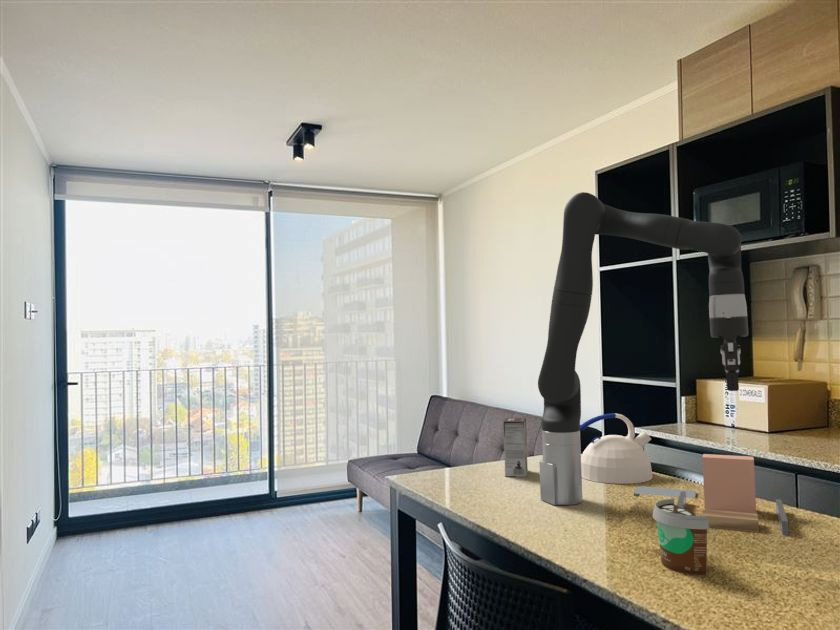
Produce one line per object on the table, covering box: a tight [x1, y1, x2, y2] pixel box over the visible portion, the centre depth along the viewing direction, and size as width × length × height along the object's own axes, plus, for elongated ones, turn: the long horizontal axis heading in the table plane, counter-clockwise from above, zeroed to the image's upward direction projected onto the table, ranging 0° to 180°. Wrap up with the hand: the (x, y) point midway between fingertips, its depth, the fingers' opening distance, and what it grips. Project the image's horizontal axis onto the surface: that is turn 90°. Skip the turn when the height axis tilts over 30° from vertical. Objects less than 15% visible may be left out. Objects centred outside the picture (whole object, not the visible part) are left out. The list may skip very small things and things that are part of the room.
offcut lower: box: [709, 526, 760, 533], centre depth 125 cm, size 5×10×2 cm, turn 63°
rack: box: [676, 491, 790, 537], centre depth 131 cm, size 18×20×4 cm
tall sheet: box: [702, 453, 757, 514], centre depth 136 cm, size 4×10×13 cm, turn 63°
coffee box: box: [502, 417, 528, 478], centre depth 185 cm, size 9×6×16 cm
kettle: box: [580, 412, 653, 485], centre depth 179 cm, size 20×21×18 cm
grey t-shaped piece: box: [633, 485, 697, 499], centre depth 156 cm, size 8×14×1 cm, turn 63°
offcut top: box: [701, 508, 760, 532], centre depth 126 cm, size 5×10×2 cm, turn 64°
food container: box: [652, 498, 710, 576], centre depth 108 cm, size 12×6×10 cm, turn 5°
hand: (732, 389), depth 137 cm, fingers open, 8 cm apart
